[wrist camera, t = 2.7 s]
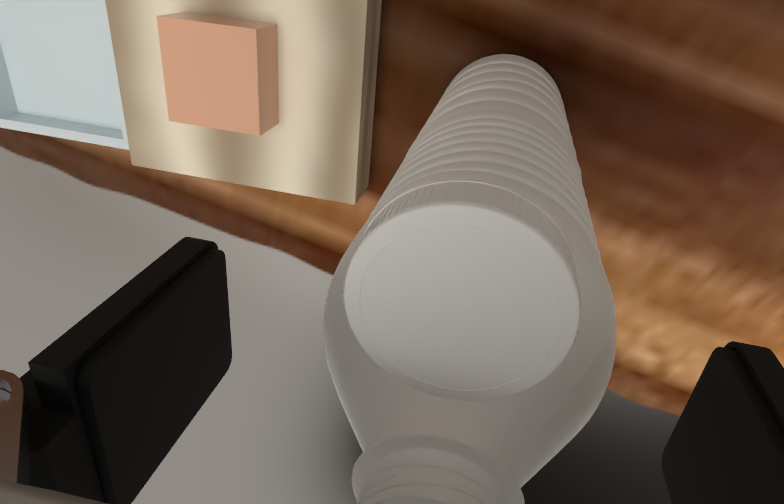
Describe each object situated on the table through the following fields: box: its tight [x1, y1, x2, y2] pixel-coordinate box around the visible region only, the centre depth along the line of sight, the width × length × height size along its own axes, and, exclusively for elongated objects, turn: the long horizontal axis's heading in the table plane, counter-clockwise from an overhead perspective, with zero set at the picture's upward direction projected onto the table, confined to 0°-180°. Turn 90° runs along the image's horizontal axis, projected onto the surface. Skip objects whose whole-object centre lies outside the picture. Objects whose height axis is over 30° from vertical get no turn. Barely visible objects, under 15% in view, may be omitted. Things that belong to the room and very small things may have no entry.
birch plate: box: [105, 0, 382, 205], centre depth 29 cm, size 14×13×3 cm
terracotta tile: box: [156, 12, 279, 136], centre depth 27 cm, size 5×5×2 cm
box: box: [0, 0, 129, 150], centre depth 31 cm, size 10×12×2 cm
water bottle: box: [323, 54, 616, 504], centre depth 18 cm, size 9×6×25 cm
